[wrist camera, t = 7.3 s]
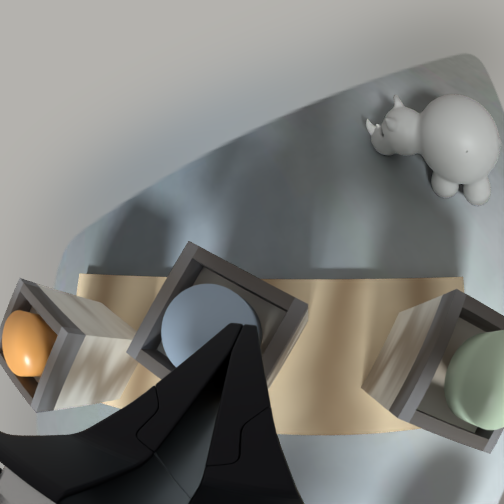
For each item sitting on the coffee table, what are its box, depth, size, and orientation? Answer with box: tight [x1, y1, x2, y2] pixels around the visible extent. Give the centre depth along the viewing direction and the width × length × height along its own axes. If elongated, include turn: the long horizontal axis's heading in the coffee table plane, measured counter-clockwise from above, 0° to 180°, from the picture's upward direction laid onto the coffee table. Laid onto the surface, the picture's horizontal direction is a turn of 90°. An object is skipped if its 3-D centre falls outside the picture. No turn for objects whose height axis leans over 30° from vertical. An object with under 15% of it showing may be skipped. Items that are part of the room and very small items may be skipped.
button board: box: [0, 241, 504, 453], centre depth 17 cm, size 11×33×11 cm, turn 87°
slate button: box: [161, 284, 262, 367], centre depth 13 cm, size 4×4×2 cm
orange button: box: [2, 310, 58, 376], centre depth 15 cm, size 4×4×2 cm
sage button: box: [444, 330, 504, 430], centre depth 9 cm, size 4×4×2 cm
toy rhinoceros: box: [366, 94, 502, 206], centre depth 21 cm, size 7×12×8 cm, turn 61°
